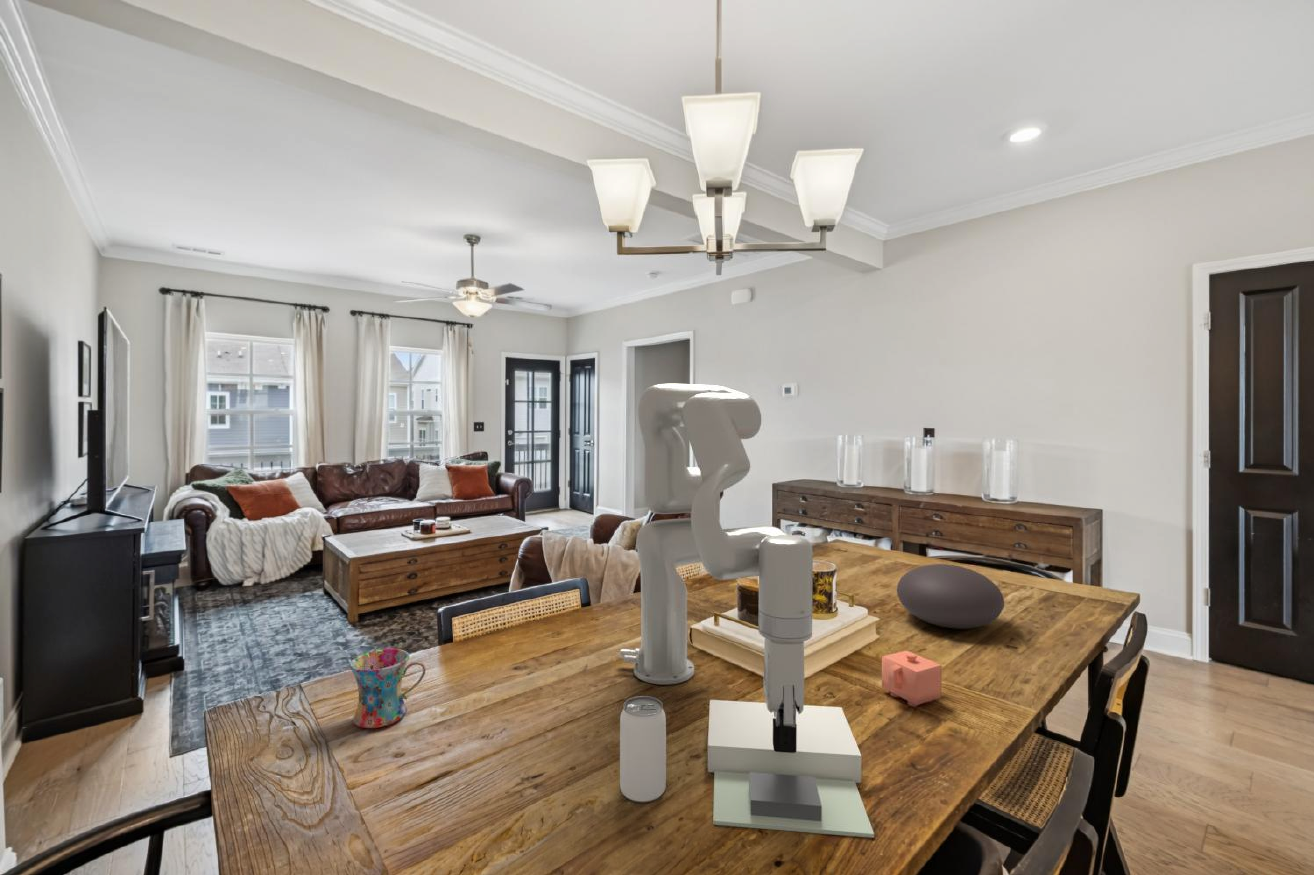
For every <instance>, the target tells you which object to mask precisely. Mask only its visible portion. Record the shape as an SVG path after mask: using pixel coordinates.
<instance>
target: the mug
mask: <svg viewBox="0 0 1314 875" xmlns="http://www.w3.org/2000/svg"><path fill="white" fill-rule="evenodd" d="M409 659H410V654H409V652H408V651H406V650H403V649H400V648H384V649H382V648H381V649H377V650H372V651H369V652H366V653H363V654H361V655H358V656H357V657H355V658H354V659H352V661H351V662H350V664H349V668H350V669H351V671H352V673H353V676H354V678H355V681H356V684H357V688H358V689H357V690H358V702H357V703H358V704H357V708H356V712H355V714H354V715H353V718H352V719H353V723H354V725H356V726H357V727H359V728H363V729H377V728H382V727H385V726H389V725H391V724H394V723H395V722H397V721H399V720H401V719H402V718H403V717H404V716H405V715H406V714H407V711H408V707H407V704H406V702H405V700H407V699H408V696H407V694H408V693H410V692H412V690H414V689H415V688H417V687H418V685H419V684H420V683H421V681H422V680H423V678H424V676H425V675H426V670H427V669H426V665H425V664H424V663H423V662H421V661H413V662H410V663H409V664H408V665H407V663H408V660H409ZM416 665H419V666H421V667H422V674H421V676H420V677H419V679H418V680H417V682H415V684H413V685H412V686H410V687H409V688H407V689H406V690H405V691H403V689H402V685H403V684H402V682H403V677H405V676H406V673H407V671H408V669H409V668H410V667H412V666H416Z"/></svg>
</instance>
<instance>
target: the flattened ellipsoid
mask: <svg viewBox="0 0 1314 875" xmlns="http://www.w3.org/2000/svg"><path fill="white" fill-rule="evenodd" d="M896 593H897V597H898V600H899V601H900V603H901V605H902V606H903V607H904V608H905V610H907V611H908V613H910V614H912V615H913V616H914V617H916V618H918V619H920V620H922V621H924V622H926V623H928V624H931V625H935V626H938V627H942V628H948V629H957V630H961V629H962V630H965V629H968V630H969V629H975V628H979V627H982V626H985V625H988V624H990V623H993V621H995V620H997V618H999V616H1001V614H1002V612H1003V610H1004V609H1005V608H1004V607H1005V601H1004V596H1003V593H1002V591H1001V589H1000V587H998V586H997V585H996V583H994V581H993V580H991V579H989V578H988V577H987V576H986V575H983V574H981V572H977V571H975V570H973V569H970V568H967V567H964V566H959V565H954V564H947V563H946V564H944V563H936V564H935V563H934V564H926V565H922V566H918V567H916V568H913V569H910V570H909V571H907V572H906V573H905V574H904V575H902V576H901V578H900V580H899V581H898V583H897V587H896Z"/></svg>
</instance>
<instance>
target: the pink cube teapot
mask: <svg viewBox="0 0 1314 875" xmlns="http://www.w3.org/2000/svg"><path fill="white" fill-rule="evenodd" d="M942 669H943V667H942V664H939V663H937V662H935V661H934V660H932V659H927V658H925V657H923V656H921V655H918V654H916V653H915V652H914V653H913V652H911V651H909V650H908V649H907V650H903V651H898V652H893V653H890V654H887V655H883V656H882V657H881V688H883V689H884V690H886V691H888V692H890V693H889V696H891V697H894V698H902V699H903V700H905V701H907V705H908V706H910V707H914V708H915V707H918V706H919V705H922V704H925V703H930V702H931V703H932V701H935V700H938V699H941V698H942Z"/></svg>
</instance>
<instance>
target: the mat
mask: <svg viewBox="0 0 1314 875" xmlns="http://www.w3.org/2000/svg"><path fill="white" fill-rule="evenodd" d="M713 773H714V779H713V782H714V783H713V810H712V811H713V813H712V815H713V817H712V819H713V820H712V824H713V825H714V826H715V825H716V826H726V827H728V826H729V827H737V828H739V827H740V828H750V829H762V830H764V829H765V830H775V831H786V832H787V831H788V832H799V833H812V834H822V835H823V834H824V835H835V836H848V837H859V838H872V839H874V838H875V832H874V830H873V827H872V825H871V822H870V818H869V817H868V814H867V810H866V808H865V805H864V802H863V801H862V800H863V799H862V797H861V794H860V791H859V790H858V787H857V783H855V781H844V780H830V779H816V778H815V781H816V785H817V789H818V793H819V797H820V801H821V806H822V819H821V821H813V820H801V819H790V818H778V817H767V816H755V815H751V811H750V793H749V774H747V773H733V772H719V771H714V772H713Z"/></svg>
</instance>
